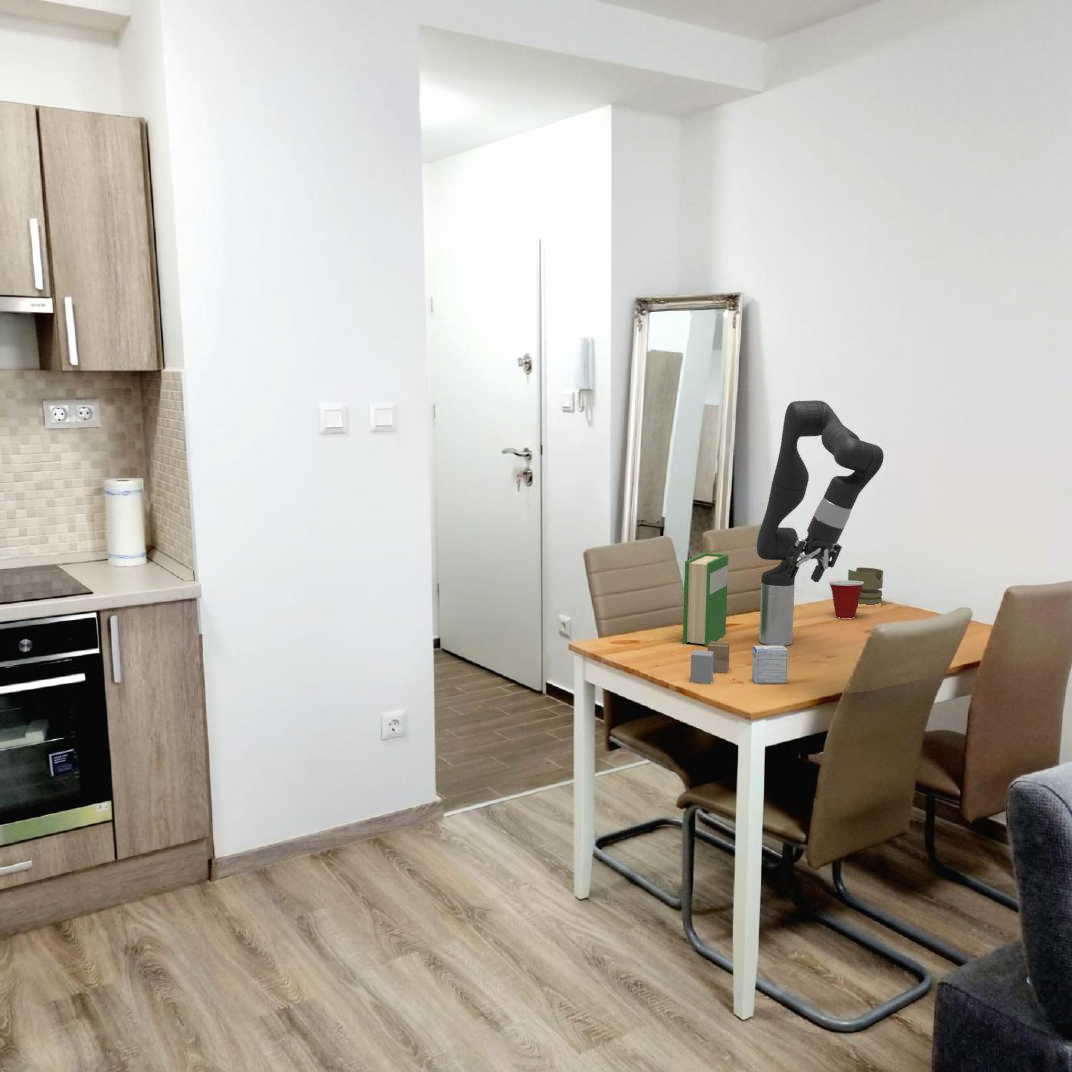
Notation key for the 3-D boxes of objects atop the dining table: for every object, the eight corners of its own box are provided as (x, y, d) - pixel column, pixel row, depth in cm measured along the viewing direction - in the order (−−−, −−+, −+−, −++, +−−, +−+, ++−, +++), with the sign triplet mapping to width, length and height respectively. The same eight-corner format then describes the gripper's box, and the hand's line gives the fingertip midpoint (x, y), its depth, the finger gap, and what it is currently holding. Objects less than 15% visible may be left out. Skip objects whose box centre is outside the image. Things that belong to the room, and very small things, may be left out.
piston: (842, 569, 351) (858, 566, 358) (840, 604, 352) (857, 600, 360) (873, 574, 343) (889, 570, 350) (871, 609, 344) (887, 604, 352)
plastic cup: (843, 613, 337) (845, 577, 336) (869, 619, 328) (871, 582, 327) (819, 616, 332) (821, 579, 330) (845, 622, 323) (847, 585, 321)
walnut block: (709, 667, 267) (710, 641, 266) (728, 668, 266) (729, 642, 265) (707, 672, 262) (708, 645, 261) (727, 673, 261) (728, 646, 260)
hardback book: (708, 647, 289) (710, 563, 286) (682, 644, 292) (685, 561, 289) (725, 634, 304) (728, 554, 301) (701, 632, 308) (703, 553, 305)
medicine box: (782, 679, 256) (783, 645, 255) (787, 684, 252) (788, 649, 251) (751, 679, 256) (752, 645, 255) (755, 684, 251) (756, 649, 250)
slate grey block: (692, 677, 257) (693, 650, 256) (712, 678, 256) (713, 651, 255) (690, 682, 252) (691, 654, 252) (710, 684, 251) (711, 656, 250)
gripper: (839, 515, 248) (812, 574, 254) (798, 509, 240) (770, 569, 246) (860, 529, 242) (832, 589, 248) (819, 524, 235) (790, 585, 240)
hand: (801, 579), depth 247 cm, fingers open, 8 cm apart
